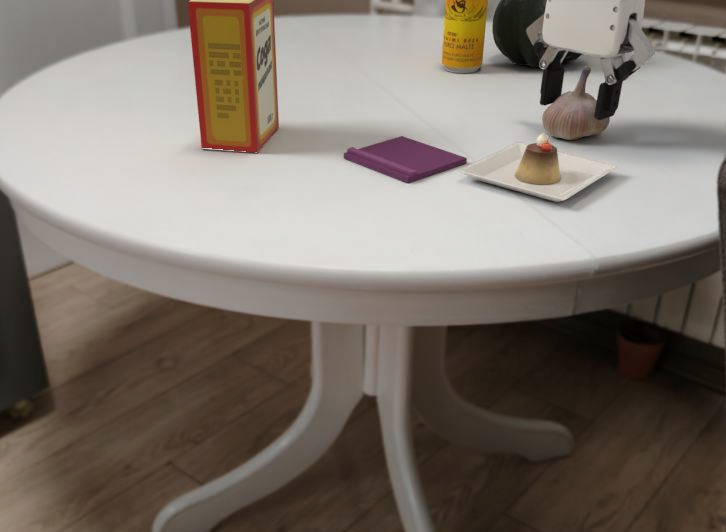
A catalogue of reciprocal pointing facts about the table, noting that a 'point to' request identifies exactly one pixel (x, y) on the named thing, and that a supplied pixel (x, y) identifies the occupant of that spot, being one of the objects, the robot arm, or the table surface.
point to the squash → (519, 30)
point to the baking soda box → (234, 72)
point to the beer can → (464, 35)
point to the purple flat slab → (404, 158)
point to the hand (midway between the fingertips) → (576, 108)
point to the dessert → (538, 170)
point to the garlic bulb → (574, 113)
